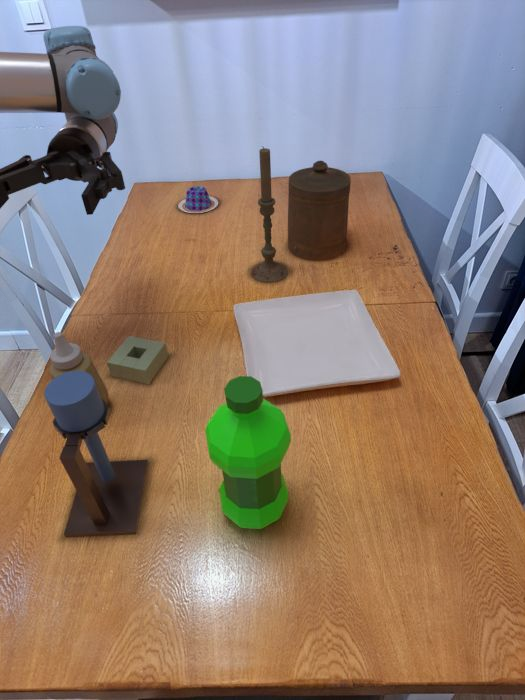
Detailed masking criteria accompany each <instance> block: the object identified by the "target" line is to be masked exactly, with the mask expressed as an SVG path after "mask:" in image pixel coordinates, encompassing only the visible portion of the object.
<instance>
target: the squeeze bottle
mask: <svg viewBox="0 0 525 700" xmlns="http://www.w3.org/2000/svg"><path fill="white" fill-rule="evenodd" d="M53 340H54V349H52V350H51V352H50V355H49V358H50V361H51V363H50V365H49V374H50V377H51V381H52V380H53V379H54V378H56V377H57V376H59V375H61V374H63V373H66V372H70V371H84V372H87V373H89V374H90V375H92V377H93V378H94V381H95V383H96V386H97V388H98V391H99V394H100V396H101V398H102V399H103V400H104V401H105V402H107V403H108V400H109V391H108V388H107V385H105V383H104V380H103V379H102V377H101V375H100V373H99V372H98V370H97V367H96V365H95V364H94V362H93V360H92V358H91V356H90V355H89V354H87V352H84V351H82V349H81V347H80V346H79V345H78V344H76V343H73V342H69V340H68V339H67V338H66V337H65V336H64V334H63V333H62V332H59V331H57V332H55V333H54V334H53Z"/></svg>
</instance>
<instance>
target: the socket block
mask: <svg viewBox="0 0 525 700" xmlns="http://www.w3.org/2000/svg"><path fill="white" fill-rule="evenodd" d="M167 349H168V348H167V344H166V343H165V342H163V341H158V340H154V339H153V340H152V339H147V338H144V337H143V338H142V337H137V336H132V335H128V336H127V337H126V338H125V340H124V341H123V342H122V343H121V345H120V346H119V347H118V348H117V350H115V352H114V353H113V354H112V355H111V356H110V358H109V359H108V360H107V362H106V363H107V367H108V370H109V372H110V375H111V377H114V378H117V379H121V380H123V379H124V380H127V381H132V382H137V383H141V384H145V385H150V384H151V382H152V381H153V380H154V378H155V377H156V375H157V374H158V372H159V371H160V369H161V368H162V366H163V365H164V364H165V362H166V360H167V359H168V358H169V354H168V350H167Z"/></svg>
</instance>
